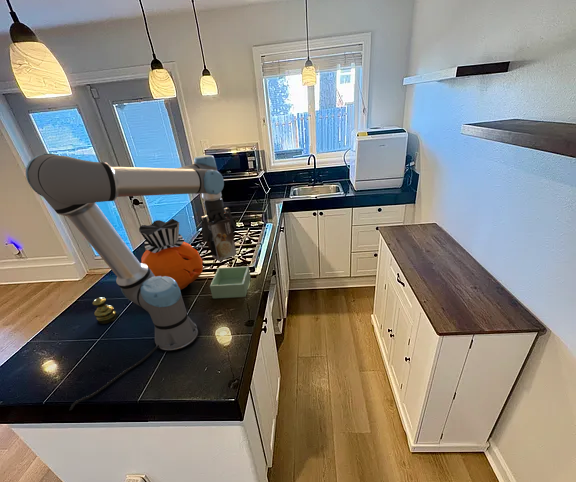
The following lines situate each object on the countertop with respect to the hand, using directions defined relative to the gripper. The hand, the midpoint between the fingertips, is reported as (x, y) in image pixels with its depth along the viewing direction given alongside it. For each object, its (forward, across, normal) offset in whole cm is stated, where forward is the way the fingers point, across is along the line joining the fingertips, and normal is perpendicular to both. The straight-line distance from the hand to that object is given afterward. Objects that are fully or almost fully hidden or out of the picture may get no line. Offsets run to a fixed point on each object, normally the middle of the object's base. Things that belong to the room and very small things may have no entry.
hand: (223, 250), depth 136 cm
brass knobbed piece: (+18, -47, +23) cm, 55 cm away
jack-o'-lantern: (+17, -13, +22) cm, 31 cm away
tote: (+17, -1, -3) cm, 18 cm away
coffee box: (+3, 0, 0) cm, 3 cm away
